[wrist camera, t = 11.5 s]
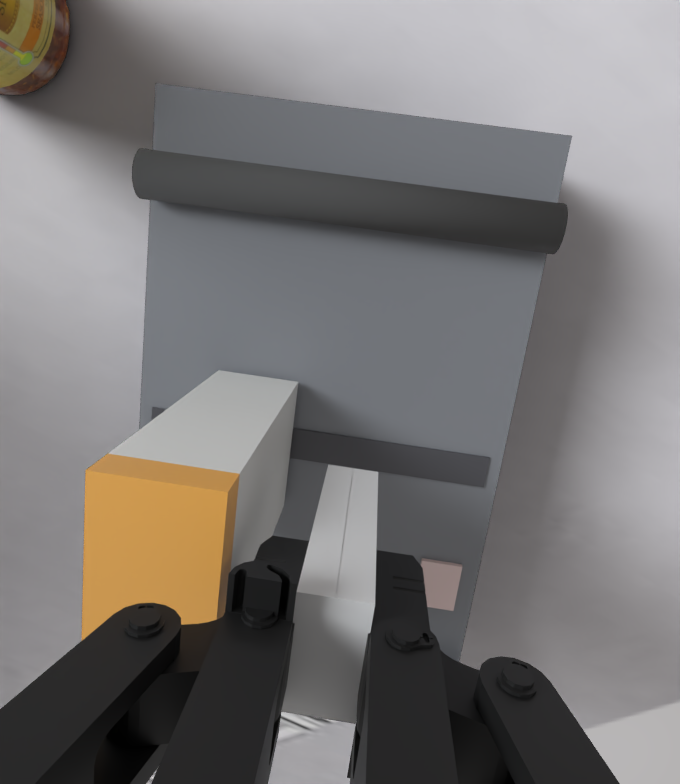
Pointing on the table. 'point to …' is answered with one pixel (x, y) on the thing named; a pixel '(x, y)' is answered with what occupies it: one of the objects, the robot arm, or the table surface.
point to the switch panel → (357, 316)
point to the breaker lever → (187, 499)
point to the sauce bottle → (31, 43)
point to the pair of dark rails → (350, 201)
